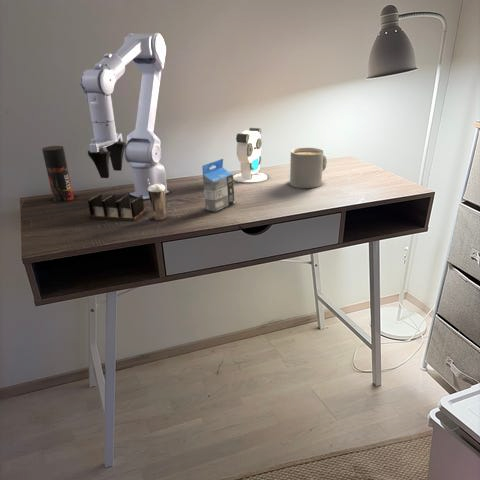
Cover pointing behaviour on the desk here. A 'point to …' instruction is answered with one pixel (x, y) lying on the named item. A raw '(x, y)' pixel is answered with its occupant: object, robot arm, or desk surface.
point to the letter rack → (116, 208)
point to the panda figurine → (249, 156)
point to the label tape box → (217, 186)
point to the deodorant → (58, 173)
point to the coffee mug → (307, 167)
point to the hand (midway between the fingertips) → (111, 173)
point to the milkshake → (157, 200)
